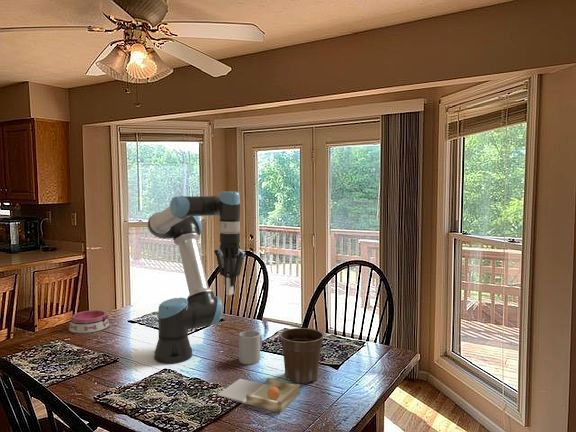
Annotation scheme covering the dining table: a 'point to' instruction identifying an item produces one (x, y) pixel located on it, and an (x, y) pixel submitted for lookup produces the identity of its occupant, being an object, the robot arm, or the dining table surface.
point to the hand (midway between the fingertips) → (229, 294)
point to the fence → (272, 404)
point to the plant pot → (301, 354)
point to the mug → (249, 347)
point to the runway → (248, 391)
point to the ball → (273, 393)
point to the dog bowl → (89, 322)
